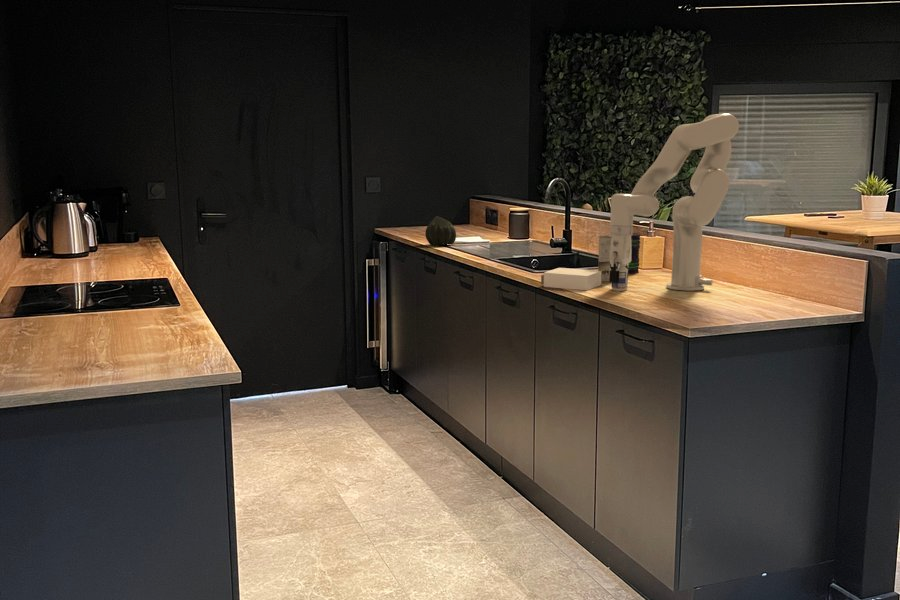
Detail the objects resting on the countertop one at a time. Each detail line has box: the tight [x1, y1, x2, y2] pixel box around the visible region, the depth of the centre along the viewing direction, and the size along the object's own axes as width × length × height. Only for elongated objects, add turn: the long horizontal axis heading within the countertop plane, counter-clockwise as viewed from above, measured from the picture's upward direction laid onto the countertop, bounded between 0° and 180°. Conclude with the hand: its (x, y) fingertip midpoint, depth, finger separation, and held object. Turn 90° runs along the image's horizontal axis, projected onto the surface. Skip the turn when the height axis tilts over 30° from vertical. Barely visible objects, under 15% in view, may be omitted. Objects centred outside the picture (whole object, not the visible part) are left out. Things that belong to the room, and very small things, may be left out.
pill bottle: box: [610, 263, 629, 292], centre depth 295 cm, size 5×5×10 cm
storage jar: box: [627, 232, 641, 275], centre depth 336 cm, size 10×10×15 cm
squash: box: [424, 215, 457, 247], centre depth 426 cm, size 14×15×15 cm
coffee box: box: [597, 234, 612, 282], centre depth 316 cm, size 9×6×16 cm
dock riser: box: [540, 267, 602, 291], centre depth 304 cm, size 17×14×5 cm
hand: (618, 280), depth 296 cm, fingers open, 9 cm apart
